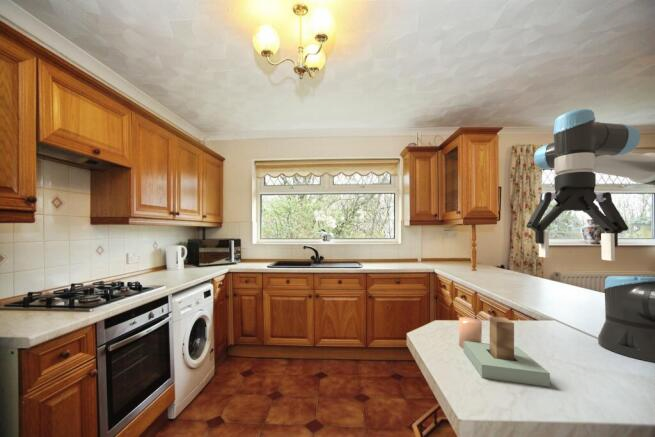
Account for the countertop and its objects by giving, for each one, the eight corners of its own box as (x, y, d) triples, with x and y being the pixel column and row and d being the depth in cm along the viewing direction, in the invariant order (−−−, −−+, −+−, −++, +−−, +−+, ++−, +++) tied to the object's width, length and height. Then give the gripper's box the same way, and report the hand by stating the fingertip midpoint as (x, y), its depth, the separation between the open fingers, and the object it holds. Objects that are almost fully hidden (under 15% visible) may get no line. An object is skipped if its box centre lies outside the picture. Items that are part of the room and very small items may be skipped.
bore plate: (517, 358, 73) (517, 346, 73) (549, 386, 59) (549, 373, 59) (463, 351, 75) (463, 341, 76) (481, 377, 62) (481, 364, 62)
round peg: (477, 344, 81) (477, 318, 82) (484, 352, 75) (485, 324, 76) (456, 342, 82) (456, 316, 83) (462, 350, 76) (462, 322, 77)
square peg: (506, 364, 69) (506, 318, 69) (514, 372, 65) (514, 323, 66) (489, 362, 70) (489, 316, 70) (496, 370, 66) (496, 321, 66)
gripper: (620, 176, 67) (622, 260, 66) (511, 177, 72) (511, 254, 71) (649, 169, 60) (652, 263, 58) (526, 170, 65) (526, 257, 63)
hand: (575, 258), depth 65 cm, fingers open, 13 cm apart
